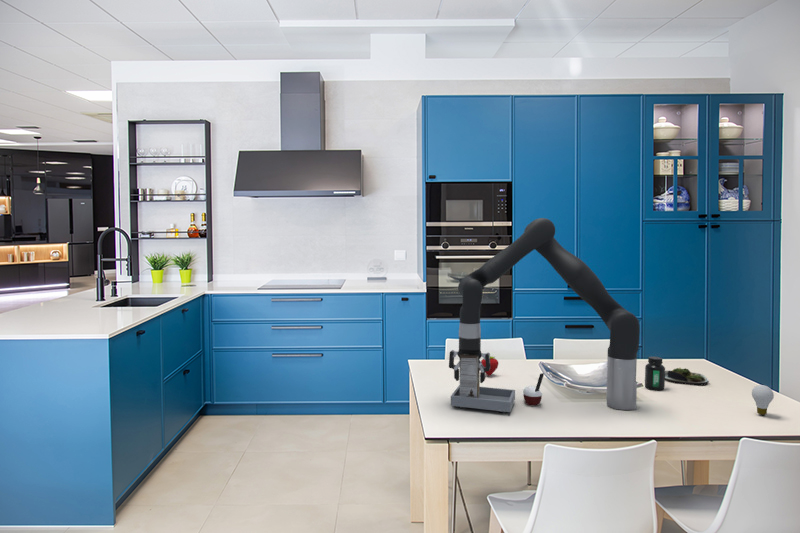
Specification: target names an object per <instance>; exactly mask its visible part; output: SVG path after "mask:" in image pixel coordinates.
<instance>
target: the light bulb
mask: <svg viewBox="0 0 800 533" xmlns="http://www.w3.org/2000/svg"><path fill="white" fill-rule="evenodd" d="M751 390H752V391H751V397H752V399H753V400H754V402H755V405H756V413H757V414H758V415H759V416H766V415H767V414H768V408H769V406H770V404H771V403H772V401H773V400H774V396H775V394H774V392H773V390H772V388H770V387H769V386H767V385H764V384H758V385H756V386H754V387H753V388H752V389H751Z"/></svg>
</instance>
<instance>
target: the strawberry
mask: <svg viewBox="0 0 800 533" xmlns="http://www.w3.org/2000/svg"><path fill="white" fill-rule="evenodd" d="M480 361H481V363H482V365H483V366H484V368H485V367H486V361H485V360H484V359H483V358H482V360H480ZM498 366H499V360H498V359H496V358H495V356H491V355H490V367H491V368H490V370H489V371H486V372H485V375H486V376H487V377H491V376H492V374H493V373H495V372H496V370H497V369H498Z"/></svg>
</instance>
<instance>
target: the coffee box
mask: <svg viewBox="0 0 800 533" xmlns="http://www.w3.org/2000/svg"><path fill="white" fill-rule="evenodd" d="M479 360H480V359H479V356H478V355H475V354H460V358H459V361H460V367H459V385H460V396H462V397H472V398H479V395H480V387H481V386H480V384H481V383H480V372H481V371H480V370H479V367H478V363H479Z"/></svg>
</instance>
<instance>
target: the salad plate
mask: <svg viewBox="0 0 800 533" xmlns="http://www.w3.org/2000/svg"><path fill="white" fill-rule="evenodd" d="M665 382H669V383H673V384H677V385H678V384H679V385H685V386H686V385H687V386H699V387H700V386H705V385H707V384H708V383H709V379H708V378H707V377H706V376H705V375H704V374H701V373H698V372H691V371H690V369H689V368H686V367H685V368H681V367H677V368H674V369H672V370H665Z"/></svg>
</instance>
